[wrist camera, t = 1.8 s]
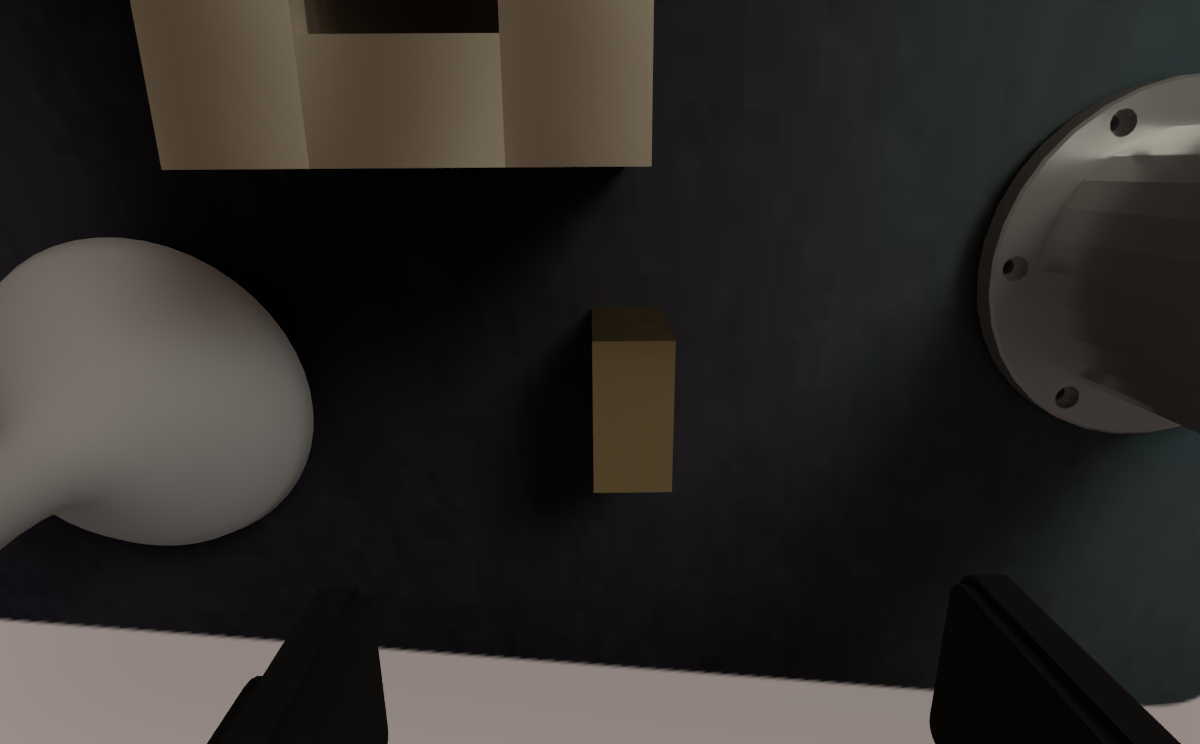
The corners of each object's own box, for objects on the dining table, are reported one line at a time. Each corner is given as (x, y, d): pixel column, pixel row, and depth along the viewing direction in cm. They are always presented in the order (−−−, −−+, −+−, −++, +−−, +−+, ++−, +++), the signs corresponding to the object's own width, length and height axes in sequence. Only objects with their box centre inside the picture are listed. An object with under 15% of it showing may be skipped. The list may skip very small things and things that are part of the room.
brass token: (659, 307, 25) (675, 340, 20) (656, 432, 26) (671, 491, 22) (591, 308, 25) (592, 341, 20) (593, 433, 26) (593, 493, 22)
